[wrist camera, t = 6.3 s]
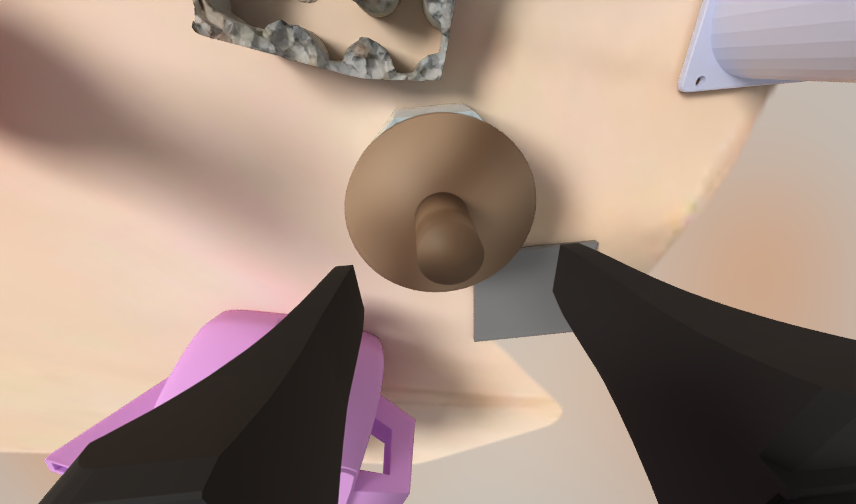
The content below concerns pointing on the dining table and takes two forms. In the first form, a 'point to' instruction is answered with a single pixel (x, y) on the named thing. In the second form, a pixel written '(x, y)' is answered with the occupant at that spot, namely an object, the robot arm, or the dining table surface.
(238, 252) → the dining table surface
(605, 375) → the robot arm
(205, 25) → the egg carton
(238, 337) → the teakettle
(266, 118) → the dining table surface
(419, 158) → the lid
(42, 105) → the dining table surface
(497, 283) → the mat
